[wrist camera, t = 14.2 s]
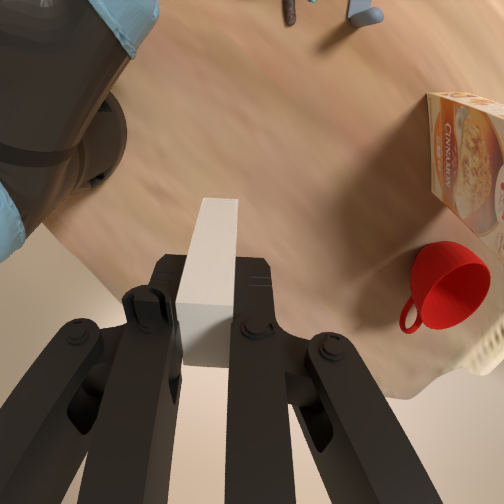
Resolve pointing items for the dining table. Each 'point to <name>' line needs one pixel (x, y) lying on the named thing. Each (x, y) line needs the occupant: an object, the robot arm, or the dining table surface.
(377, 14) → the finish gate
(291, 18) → the stuffed animal
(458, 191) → the coffeecake box
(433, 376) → the dining table surface
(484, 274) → the ceramic cup
